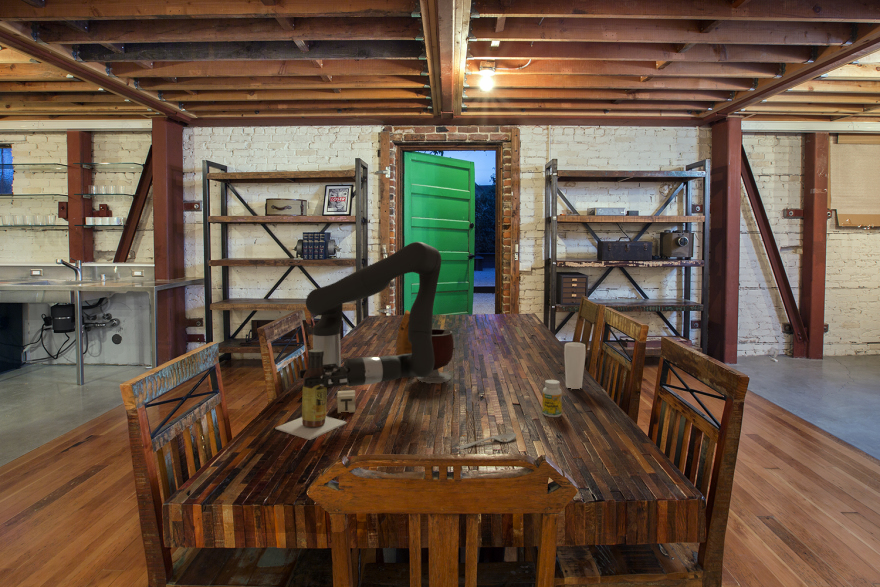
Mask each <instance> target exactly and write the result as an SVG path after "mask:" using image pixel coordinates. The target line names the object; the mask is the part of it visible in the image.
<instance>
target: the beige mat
mask: <svg viewBox="0 0 880 587" xmlns="http://www.w3.org/2000/svg"><path fill="white" fill-rule="evenodd" d="M302 420H303V419H302V416H300V417H299V418H296V419H294V420H290V421H288V422H286V423H284V424H281V425H278V426H276V427H274V428H275V429H274V430H276V431H277V430H278V431H281V432H284V433H287V434H289V435H292V436H295V437H299V438H303V439H305V440H309V441H311V440H313V439H316V438H317V437H320V436H322V435H324V434H327V433H328V432H331V431H333V430H335V429H337V428H340V427H342V426H344V425H346V424H348V422H347V421H345V420H342V419H337V418H334V417H331V416H327V415H326V418H325V423H324V425H321V426H318V427H306V426H304V425H303V424H302Z"/></svg>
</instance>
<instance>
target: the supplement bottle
mask: <svg viewBox="0 0 880 587" xmlns="http://www.w3.org/2000/svg"><path fill="white" fill-rule="evenodd" d="M544 381H545V382H544V386H545V387H544V388H542V400H541V401H542V402H541V403H542V406H541V407H542V410H541V414H543V415H544V416H545V417H549V418H559V417H561V416H562V412H563V411H562V407H563V398H562V397H563V392H562V391H563V390H562V389H561V388H560V386H561V384H560V381H559V380H556V379H546V380H544Z"/></svg>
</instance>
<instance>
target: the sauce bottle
mask: <svg viewBox="0 0 880 587" xmlns="http://www.w3.org/2000/svg"><path fill="white" fill-rule="evenodd" d="M307 356H308V357H307V358H308V362H307V366H308V367H307V371H306V372H305V374H304V377H303V378H302V380H303V383H302V384H303V385H302V397H301V398H302V399H301V401H302V403H301V417H302V419H303V420H302V424H303V425H304V426H306V427H318V426H321V425H324V423H325V418H326V416H327V399H328V398H327V396H328V394H327V393H328V387H327V388H325V387H324V386H320V384H319V385H315V386H305V385H304V378H305V377H313V376H319V378H320V376H321V375H324V374H325V372H324V368H323V356H324V351H323V350H320V349H312V348H311V349H309V350H307Z"/></svg>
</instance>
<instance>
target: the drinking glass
mask: <svg viewBox="0 0 880 587" xmlns="http://www.w3.org/2000/svg"><path fill="white" fill-rule="evenodd" d="M563 351H564V370H565V372H564V373H565V387H566V389H568V388H571V389H570V390H572V389H579V390H581V389H582V388H583V379H584V369H585V362H586V344H585V343H582V342H577V341H575V342H572V341H571V342H566V343H565V344H564V350H563ZM580 388H581V389H580Z"/></svg>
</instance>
